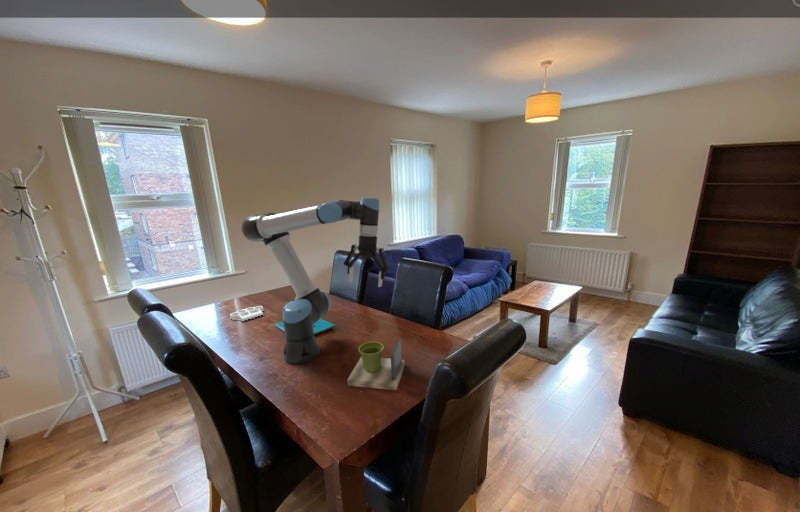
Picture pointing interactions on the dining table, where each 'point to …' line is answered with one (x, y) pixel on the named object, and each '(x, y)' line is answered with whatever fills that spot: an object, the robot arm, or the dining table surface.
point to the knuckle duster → (247, 313)
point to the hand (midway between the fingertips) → (365, 284)
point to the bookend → (396, 359)
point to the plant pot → (371, 355)
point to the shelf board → (375, 376)
